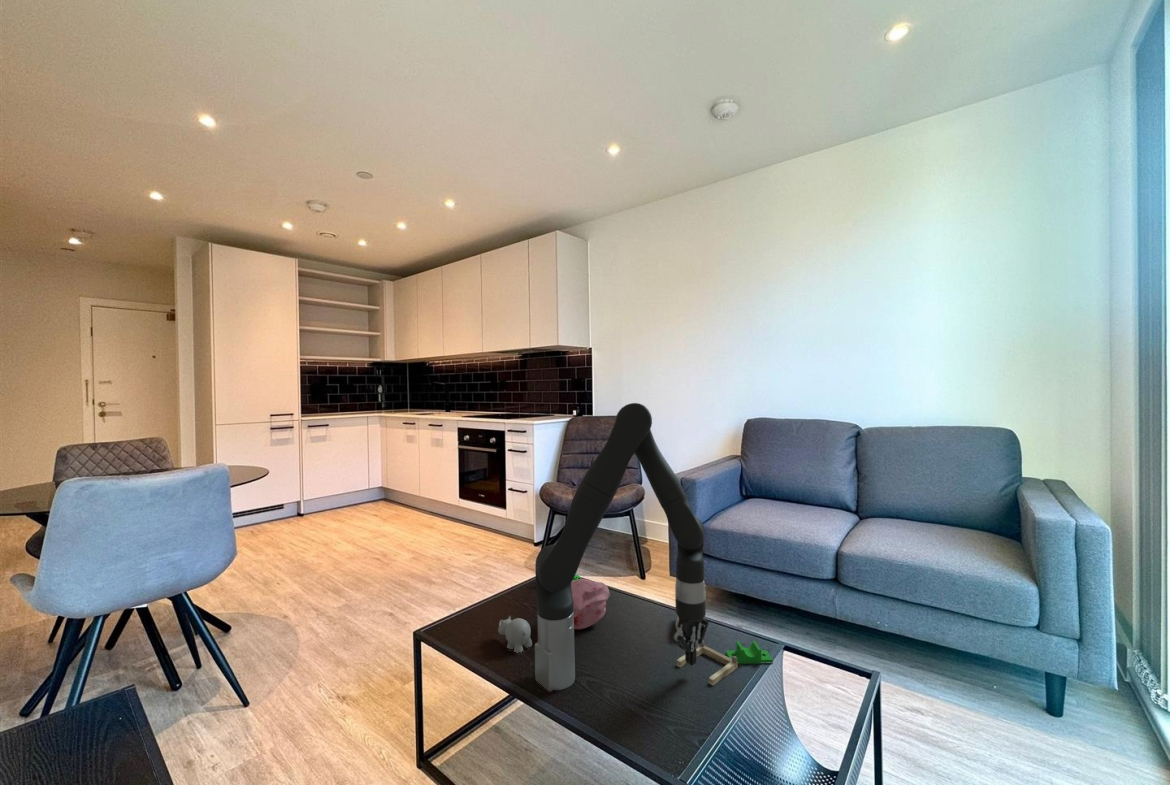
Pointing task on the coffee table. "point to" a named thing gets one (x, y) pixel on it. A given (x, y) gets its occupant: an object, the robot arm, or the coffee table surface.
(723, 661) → the frame
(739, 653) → the pipe clamp
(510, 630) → the rhino figurine
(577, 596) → the decorative rock
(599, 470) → the robot arm
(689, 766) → the coffee table surface
